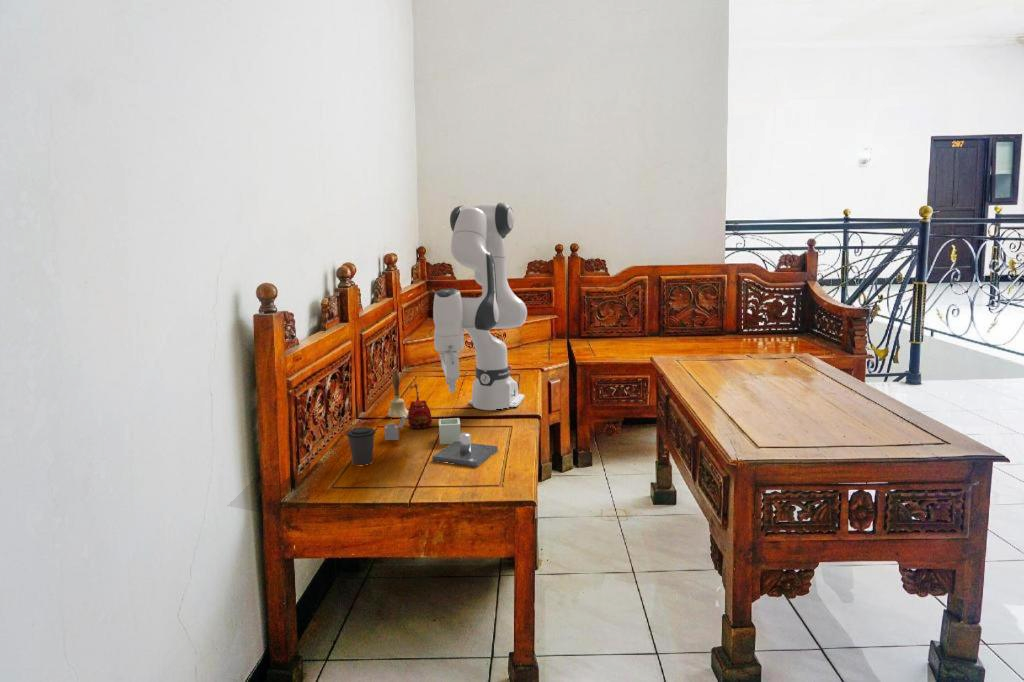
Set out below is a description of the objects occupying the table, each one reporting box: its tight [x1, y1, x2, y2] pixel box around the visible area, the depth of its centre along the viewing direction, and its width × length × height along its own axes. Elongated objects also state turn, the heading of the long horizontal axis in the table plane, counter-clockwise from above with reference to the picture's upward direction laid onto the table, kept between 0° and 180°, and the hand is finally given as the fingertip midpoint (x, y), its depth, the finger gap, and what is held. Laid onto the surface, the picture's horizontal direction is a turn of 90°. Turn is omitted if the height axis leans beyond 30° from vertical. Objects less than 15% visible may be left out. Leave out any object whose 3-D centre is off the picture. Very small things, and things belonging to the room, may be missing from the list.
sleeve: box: [438, 417, 462, 445], centre depth 222 cm, size 6×6×6 cm
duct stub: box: [431, 432, 499, 468], centre depth 208 cm, size 14×14×6 cm
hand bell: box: [386, 369, 409, 417], centre depth 249 cm, size 8×8×16 cm
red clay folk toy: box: [407, 380, 432, 430], centre depth 235 cm, size 8×7×15 cm
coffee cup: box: [346, 426, 376, 466], centre depth 204 cm, size 8×8×10 cm
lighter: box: [384, 414, 408, 441], centre depth 224 cm, size 7×2×8 cm, turn 92°
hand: (450, 388), depth 218 cm, fingers open, 8 cm apart
